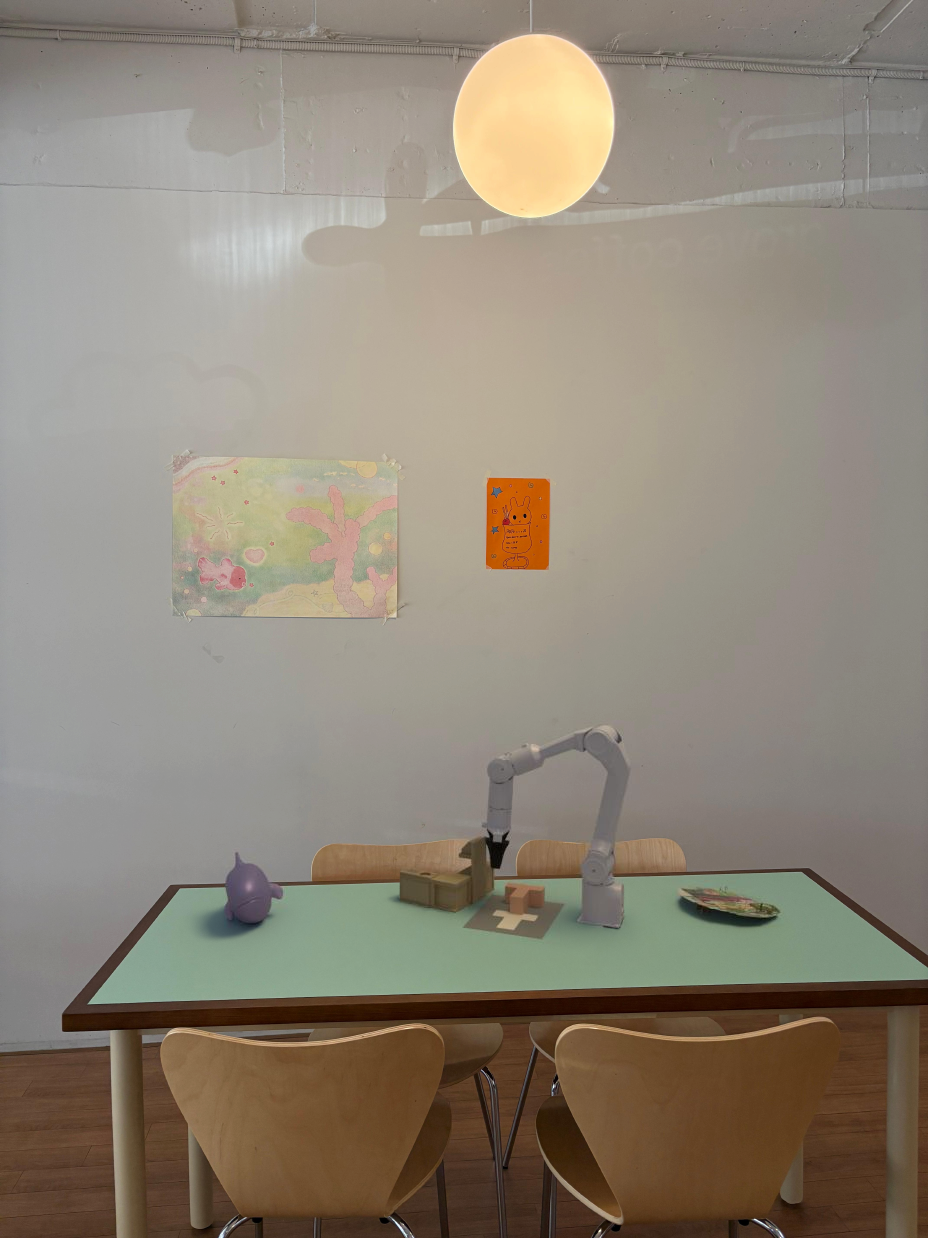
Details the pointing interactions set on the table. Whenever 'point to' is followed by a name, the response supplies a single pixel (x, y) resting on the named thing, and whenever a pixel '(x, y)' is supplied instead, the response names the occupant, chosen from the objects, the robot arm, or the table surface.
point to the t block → (523, 897)
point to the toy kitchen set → (450, 882)
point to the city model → (726, 902)
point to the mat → (514, 918)
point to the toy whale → (249, 892)
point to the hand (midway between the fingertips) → (495, 863)
